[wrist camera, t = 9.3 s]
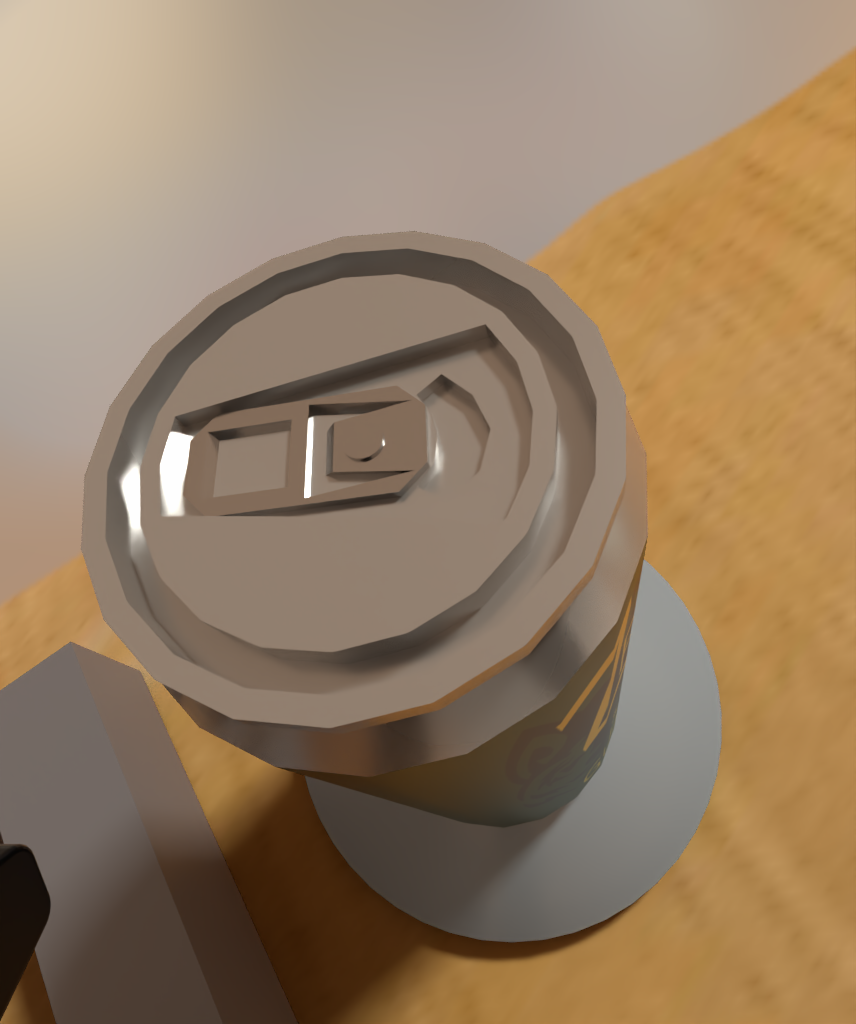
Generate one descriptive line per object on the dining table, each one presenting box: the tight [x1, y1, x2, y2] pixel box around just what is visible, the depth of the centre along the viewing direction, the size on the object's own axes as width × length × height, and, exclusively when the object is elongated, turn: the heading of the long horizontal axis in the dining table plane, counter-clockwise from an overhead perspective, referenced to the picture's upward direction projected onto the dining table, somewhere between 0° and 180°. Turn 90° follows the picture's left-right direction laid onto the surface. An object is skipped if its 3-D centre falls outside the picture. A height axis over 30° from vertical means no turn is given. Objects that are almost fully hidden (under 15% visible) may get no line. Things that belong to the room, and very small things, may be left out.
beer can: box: [81, 231, 648, 828], centre depth 11 cm, size 5×5×12 cm
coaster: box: [305, 560, 721, 942], centre depth 17 cm, size 10×10×1 cm
